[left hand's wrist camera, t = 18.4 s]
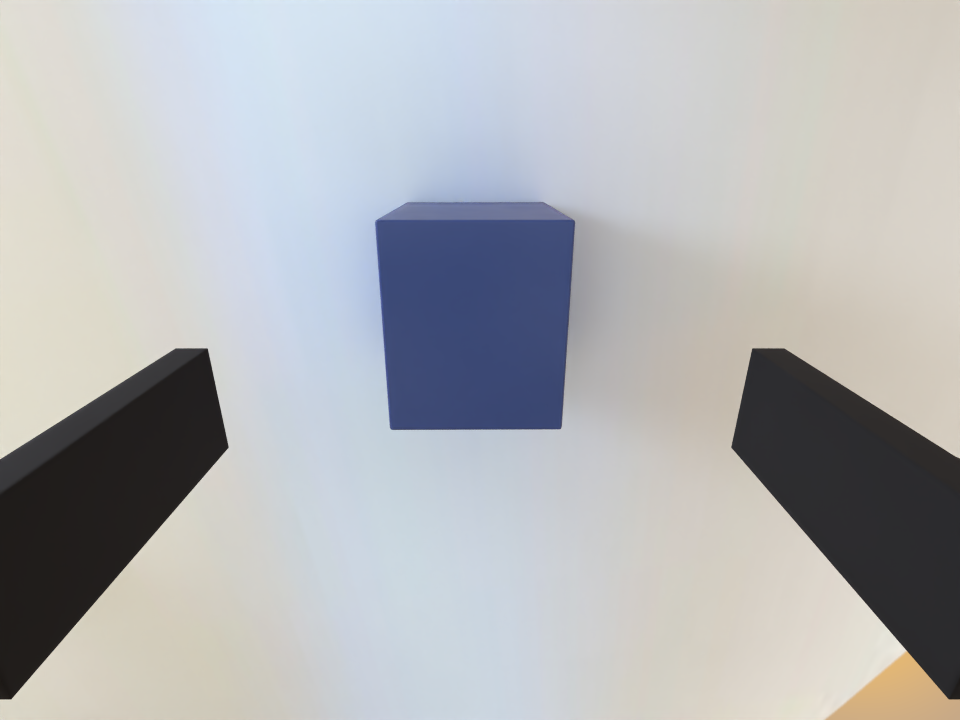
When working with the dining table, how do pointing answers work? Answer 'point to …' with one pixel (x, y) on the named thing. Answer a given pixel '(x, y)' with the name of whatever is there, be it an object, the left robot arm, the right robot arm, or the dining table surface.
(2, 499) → the left robot arm
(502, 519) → the dining table surface
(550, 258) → the block
